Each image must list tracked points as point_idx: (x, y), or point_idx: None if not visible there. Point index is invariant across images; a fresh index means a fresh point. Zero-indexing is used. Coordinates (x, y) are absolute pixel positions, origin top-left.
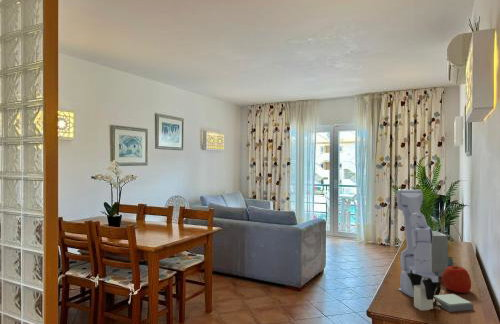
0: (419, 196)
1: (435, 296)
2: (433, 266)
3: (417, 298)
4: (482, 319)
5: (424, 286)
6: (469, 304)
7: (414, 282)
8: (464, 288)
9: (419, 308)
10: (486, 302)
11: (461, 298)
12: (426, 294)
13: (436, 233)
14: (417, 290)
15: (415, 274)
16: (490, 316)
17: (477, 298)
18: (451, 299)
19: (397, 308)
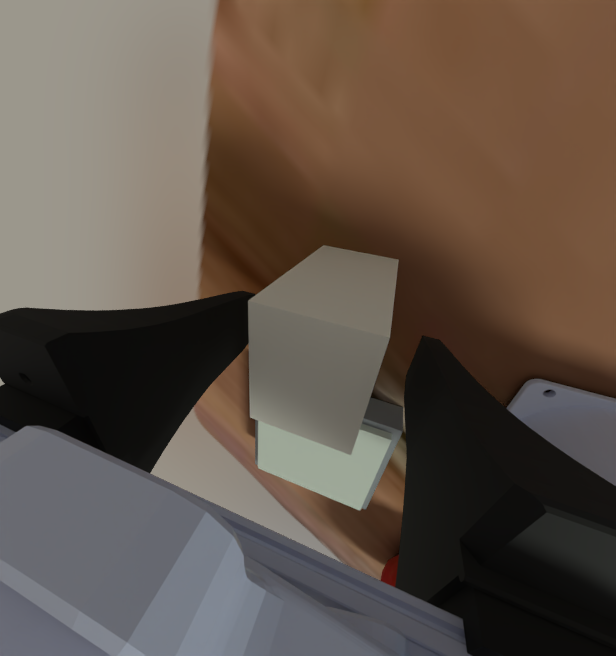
0: None
1: (371, 436)
2: None
3: (342, 272)
4: None
5: (304, 401)
6: (256, 453)
7: (439, 414)
8: (384, 576)
9: (334, 248)
10: (305, 517)
11: (303, 483)
12: (222, 299)
13: None
14: (316, 298)
15: (446, 573)
16: (211, 430)
17: (341, 533)
18: (306, 450)
19: (439, 58)
